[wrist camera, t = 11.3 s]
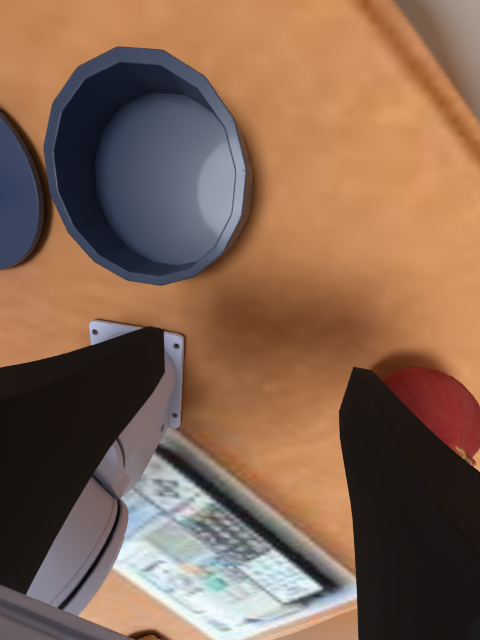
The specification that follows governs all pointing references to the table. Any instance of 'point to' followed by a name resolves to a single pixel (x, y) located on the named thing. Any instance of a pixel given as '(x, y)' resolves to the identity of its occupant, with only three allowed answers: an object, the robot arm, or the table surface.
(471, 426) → the onion
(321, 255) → the table surface
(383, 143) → the table surface
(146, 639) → the food
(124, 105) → the pot
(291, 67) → the table surface
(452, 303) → the table surface
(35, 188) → the lid
